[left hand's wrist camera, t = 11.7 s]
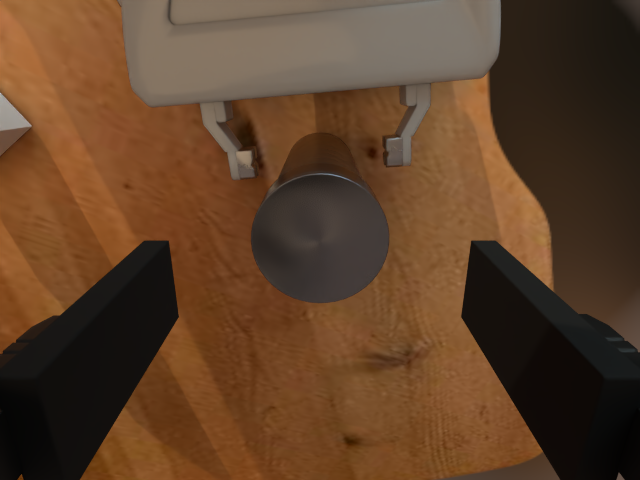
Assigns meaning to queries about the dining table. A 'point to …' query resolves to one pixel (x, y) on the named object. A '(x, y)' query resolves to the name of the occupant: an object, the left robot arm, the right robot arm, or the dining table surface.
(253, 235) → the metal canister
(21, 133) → the white wedge bracket
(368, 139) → the dining table surface
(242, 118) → the dining table surface
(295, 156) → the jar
